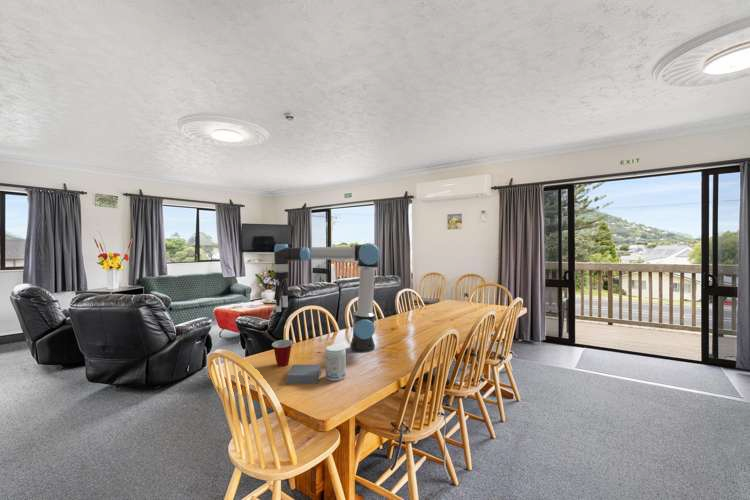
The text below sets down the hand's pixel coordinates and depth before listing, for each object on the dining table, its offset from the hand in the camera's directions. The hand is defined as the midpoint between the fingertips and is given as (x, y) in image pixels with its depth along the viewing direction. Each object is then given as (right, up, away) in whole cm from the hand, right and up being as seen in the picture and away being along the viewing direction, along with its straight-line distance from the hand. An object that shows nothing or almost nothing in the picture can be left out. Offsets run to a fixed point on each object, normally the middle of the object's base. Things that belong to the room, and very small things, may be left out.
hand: (281, 309), depth 194 cm
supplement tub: (+33, -28, -28) cm, 52 cm away
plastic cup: (+3, -28, -11) cm, 30 cm away
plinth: (+18, -28, -28) cm, 44 cm away
